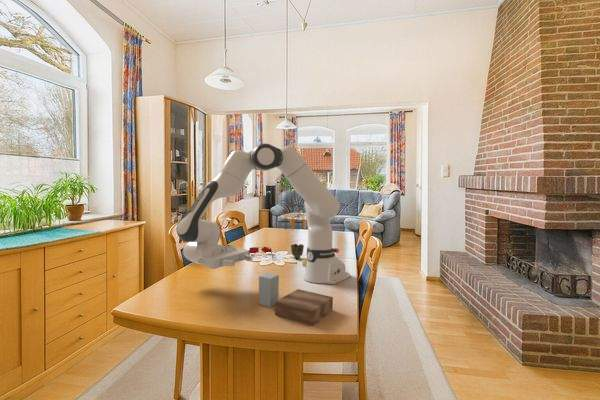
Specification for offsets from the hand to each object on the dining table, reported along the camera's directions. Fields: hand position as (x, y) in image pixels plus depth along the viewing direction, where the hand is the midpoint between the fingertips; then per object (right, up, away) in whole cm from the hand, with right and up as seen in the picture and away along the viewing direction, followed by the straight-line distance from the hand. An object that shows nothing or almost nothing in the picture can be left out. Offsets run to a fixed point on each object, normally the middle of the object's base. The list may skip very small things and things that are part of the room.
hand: (242, 261), depth 116 cm
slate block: (+10, -14, -5) cm, 18 cm away
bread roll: (+27, -12, +47) cm, 56 cm away
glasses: (-1, -11, +63) cm, 64 cm away
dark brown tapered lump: (+20, -11, +60) cm, 65 cm away
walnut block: (+23, -15, -13) cm, 31 cm away
